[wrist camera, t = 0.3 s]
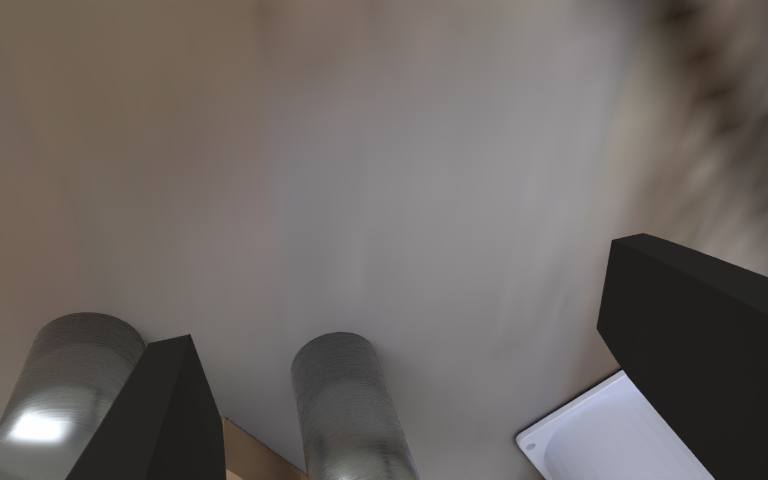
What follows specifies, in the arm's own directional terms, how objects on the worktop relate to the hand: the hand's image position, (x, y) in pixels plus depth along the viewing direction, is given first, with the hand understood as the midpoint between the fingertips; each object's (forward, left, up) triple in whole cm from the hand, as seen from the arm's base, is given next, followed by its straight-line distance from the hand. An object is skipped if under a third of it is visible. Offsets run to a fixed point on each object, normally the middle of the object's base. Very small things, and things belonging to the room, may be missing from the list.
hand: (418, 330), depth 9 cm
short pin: (-2, +12, -10) cm, 15 cm away
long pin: (-9, +6, -10) cm, 14 cm away
